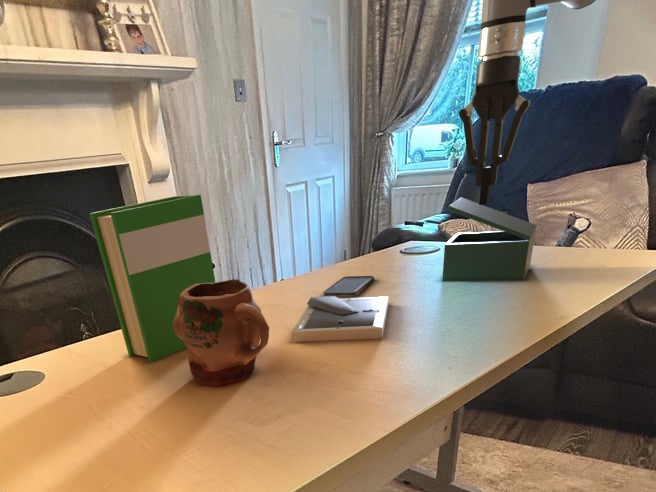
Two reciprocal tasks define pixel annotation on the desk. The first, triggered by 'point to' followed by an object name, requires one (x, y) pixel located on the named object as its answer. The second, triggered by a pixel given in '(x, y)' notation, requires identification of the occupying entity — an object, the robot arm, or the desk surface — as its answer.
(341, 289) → the phone
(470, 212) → the lid
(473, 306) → the desk surface
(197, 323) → the terracotta mug
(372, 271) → the desk surface
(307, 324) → the picture frame
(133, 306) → the hardback book
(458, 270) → the box
